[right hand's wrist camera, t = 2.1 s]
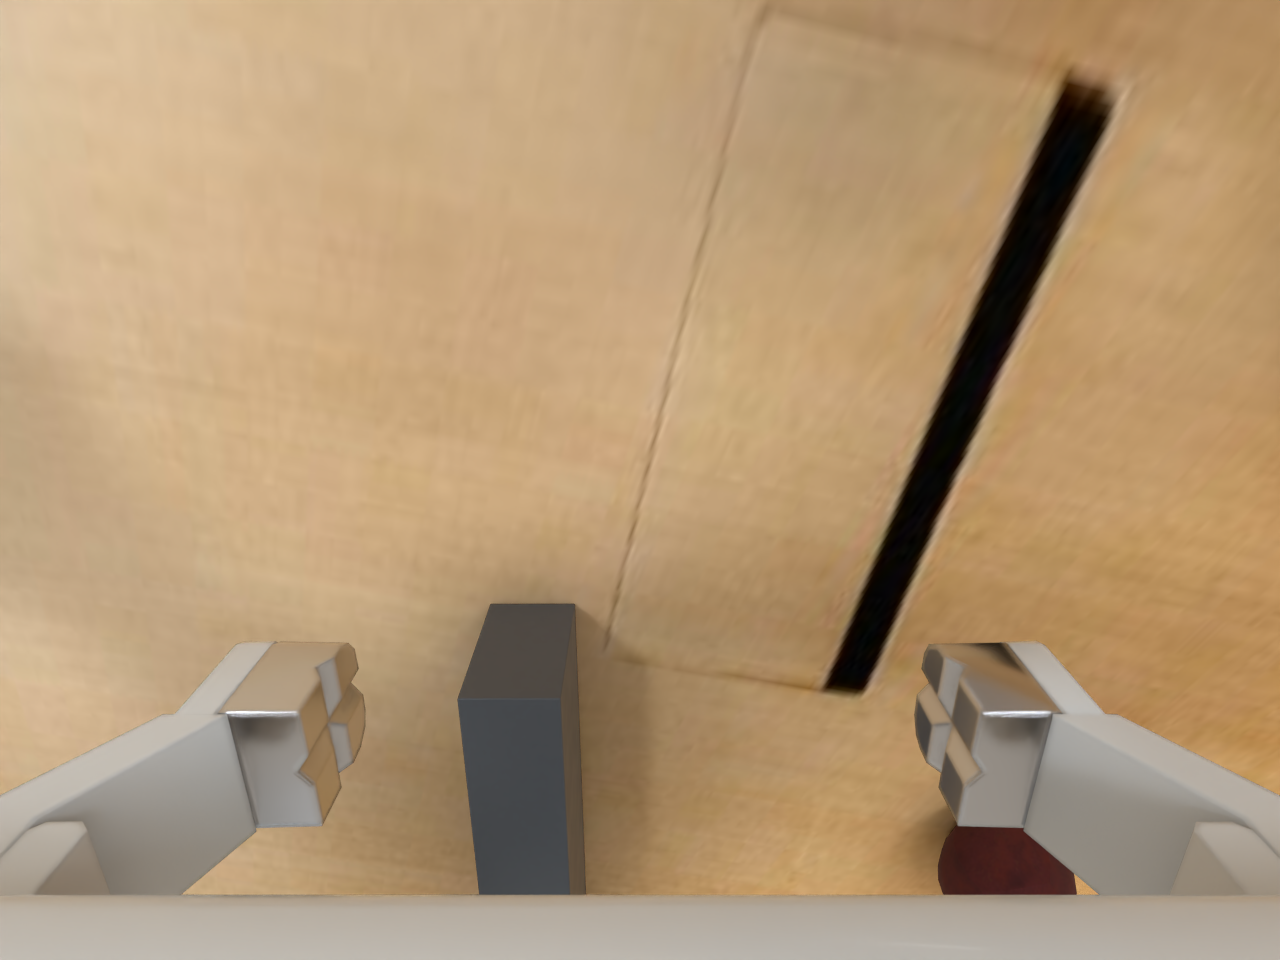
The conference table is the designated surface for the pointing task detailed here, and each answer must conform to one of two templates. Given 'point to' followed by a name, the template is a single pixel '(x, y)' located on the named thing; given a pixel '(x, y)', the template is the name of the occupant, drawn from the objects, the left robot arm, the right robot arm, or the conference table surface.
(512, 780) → the bar
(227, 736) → the right robot arm
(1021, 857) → the dark red plum
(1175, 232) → the conference table surface
